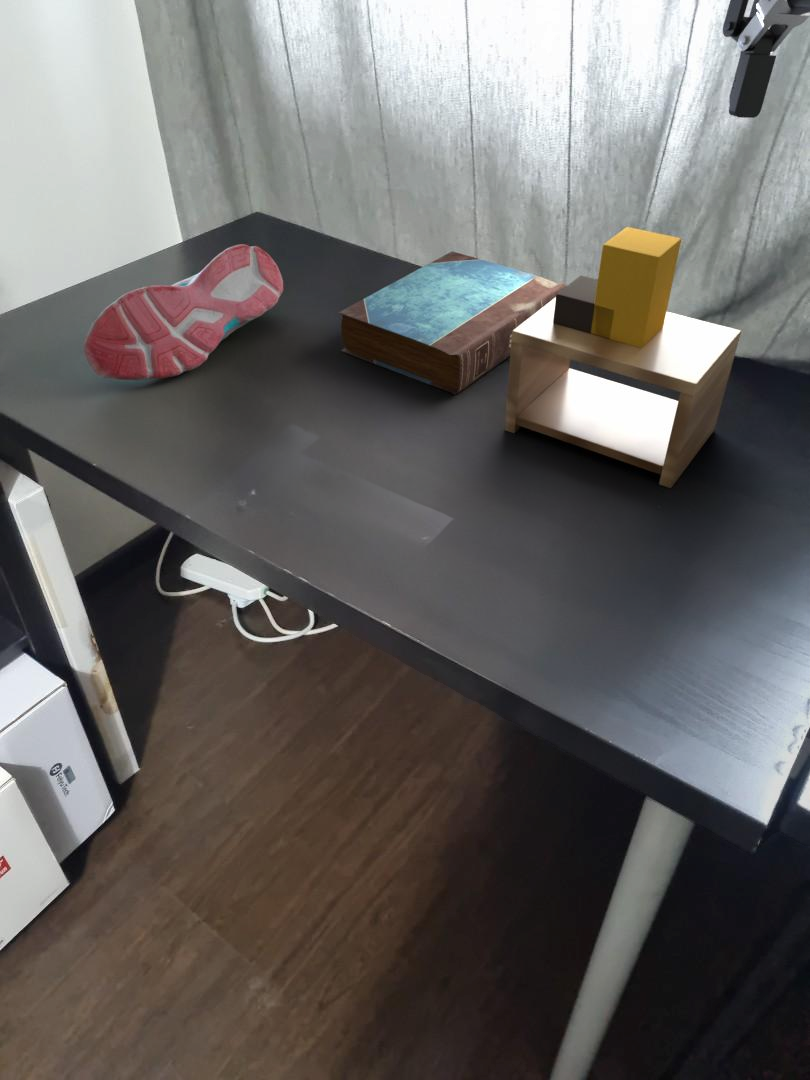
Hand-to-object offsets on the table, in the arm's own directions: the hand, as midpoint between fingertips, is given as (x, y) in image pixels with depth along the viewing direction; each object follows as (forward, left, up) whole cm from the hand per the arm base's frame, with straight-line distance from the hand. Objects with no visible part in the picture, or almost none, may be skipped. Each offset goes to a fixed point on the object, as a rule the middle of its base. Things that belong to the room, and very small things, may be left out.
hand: (787, 128), depth 53 cm
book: (+36, -18, -33) cm, 52 cm away
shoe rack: (+12, -9, -33) cm, 36 cm away
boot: (+14, -10, -21) cm, 27 cm away
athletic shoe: (+61, +2, -33) cm, 69 cm away
